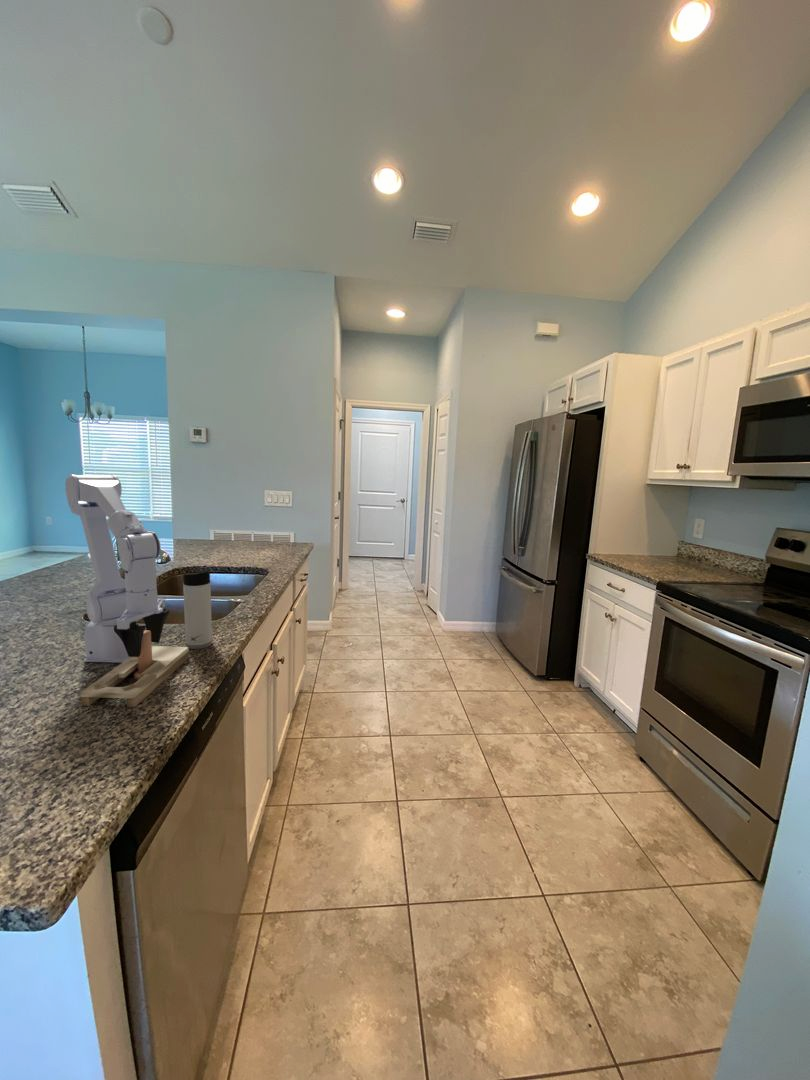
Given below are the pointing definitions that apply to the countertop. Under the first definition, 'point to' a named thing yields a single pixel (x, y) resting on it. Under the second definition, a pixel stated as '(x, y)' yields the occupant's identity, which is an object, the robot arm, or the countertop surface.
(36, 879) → the countertop surface
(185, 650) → the keyhole plate
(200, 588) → the travel mug
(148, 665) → the terracotta peg
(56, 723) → the countertop surface
